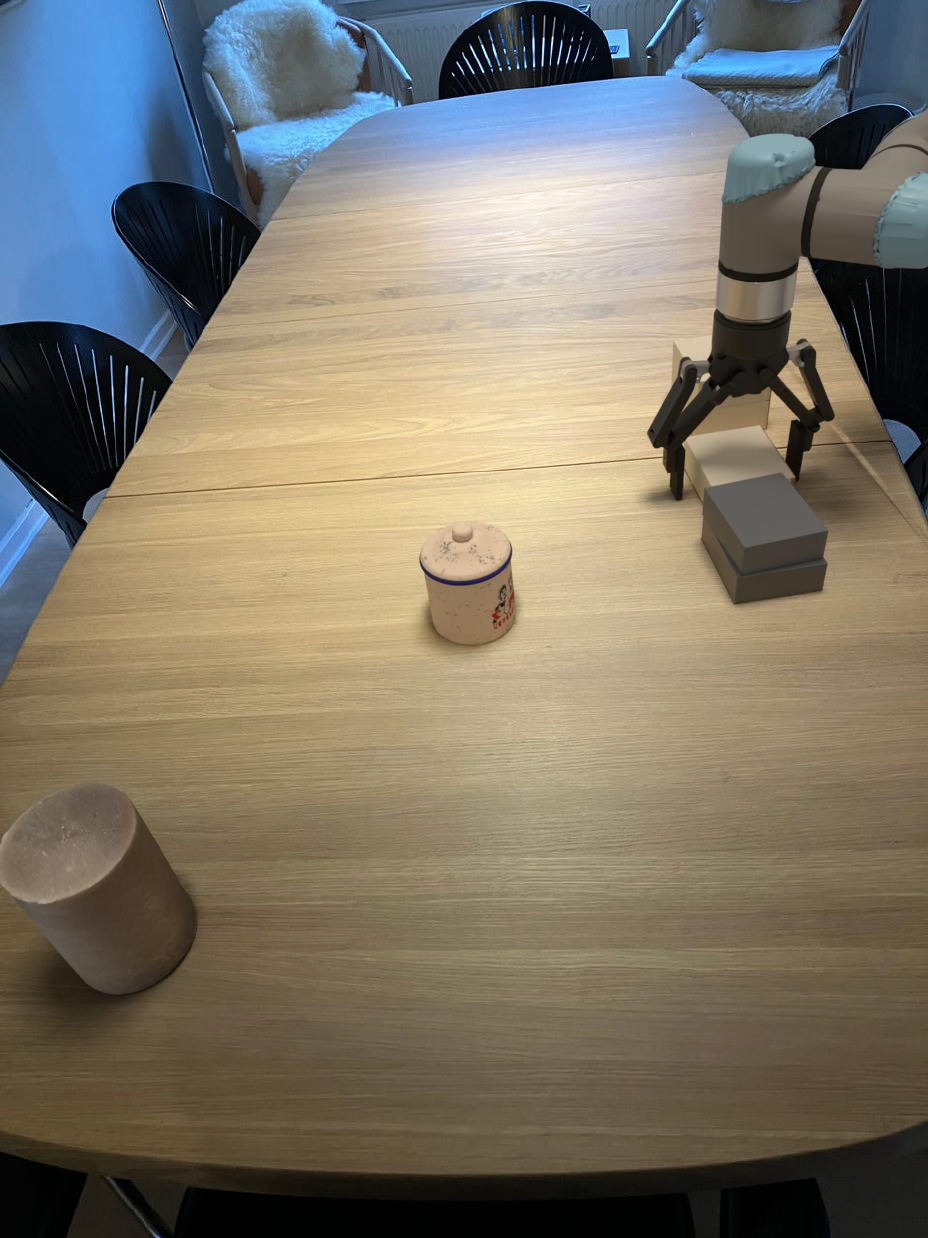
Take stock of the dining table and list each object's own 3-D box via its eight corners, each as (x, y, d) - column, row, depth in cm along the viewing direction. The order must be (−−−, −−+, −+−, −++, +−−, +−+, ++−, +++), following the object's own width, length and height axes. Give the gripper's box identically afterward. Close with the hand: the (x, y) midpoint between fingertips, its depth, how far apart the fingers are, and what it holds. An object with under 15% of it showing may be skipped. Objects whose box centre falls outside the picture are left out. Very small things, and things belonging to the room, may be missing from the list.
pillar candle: (200, 871, 76) (137, 758, 66) (193, 983, 69) (121, 875, 59) (83, 895, 76) (2, 784, 66) (64, 1010, 69) (-31, 905, 59)
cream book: (757, 453, 111) (760, 424, 108) (791, 506, 103) (796, 476, 100) (682, 465, 111) (684, 436, 108) (710, 519, 103) (713, 489, 100)
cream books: (737, 385, 123) (743, 329, 117) (767, 428, 115) (774, 369, 109) (670, 396, 123) (673, 340, 117) (694, 439, 115) (698, 381, 109)
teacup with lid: (514, 649, 91) (504, 558, 83) (424, 647, 93) (406, 558, 85) (524, 570, 100) (516, 481, 92) (442, 570, 101) (427, 482, 94)
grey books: (781, 524, 101) (790, 470, 96) (822, 590, 92) (833, 535, 88) (698, 537, 101) (702, 484, 96) (731, 604, 92) (737, 550, 88)
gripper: (859, 274, 95) (826, 449, 110) (621, 311, 95) (620, 481, 109) (892, 305, 90) (853, 485, 104) (639, 344, 89) (635, 519, 104)
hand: (733, 483), depth 107 cm, fingers open, 13 cm apart
